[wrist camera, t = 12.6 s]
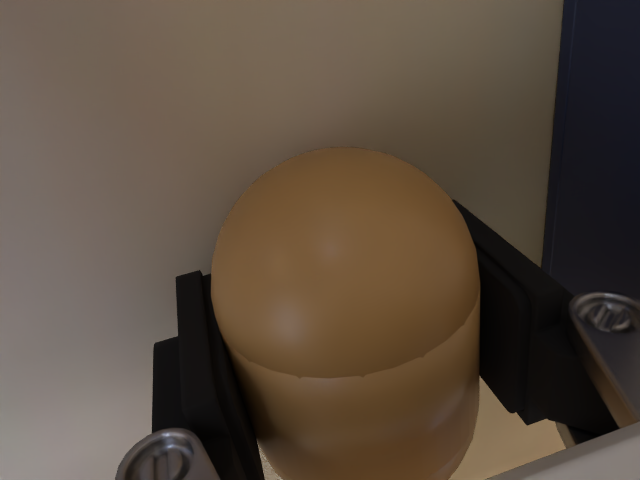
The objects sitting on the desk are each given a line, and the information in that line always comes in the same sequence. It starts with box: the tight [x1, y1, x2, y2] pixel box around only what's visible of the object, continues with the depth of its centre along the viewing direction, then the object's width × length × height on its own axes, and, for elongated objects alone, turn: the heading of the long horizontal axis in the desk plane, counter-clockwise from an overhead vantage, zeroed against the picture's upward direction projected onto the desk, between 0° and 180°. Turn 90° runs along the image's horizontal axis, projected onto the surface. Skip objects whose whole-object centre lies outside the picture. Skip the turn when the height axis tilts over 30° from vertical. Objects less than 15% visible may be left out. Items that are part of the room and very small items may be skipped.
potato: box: [211, 147, 480, 480], centre depth 10 cm, size 5×8×5 cm, turn 9°
